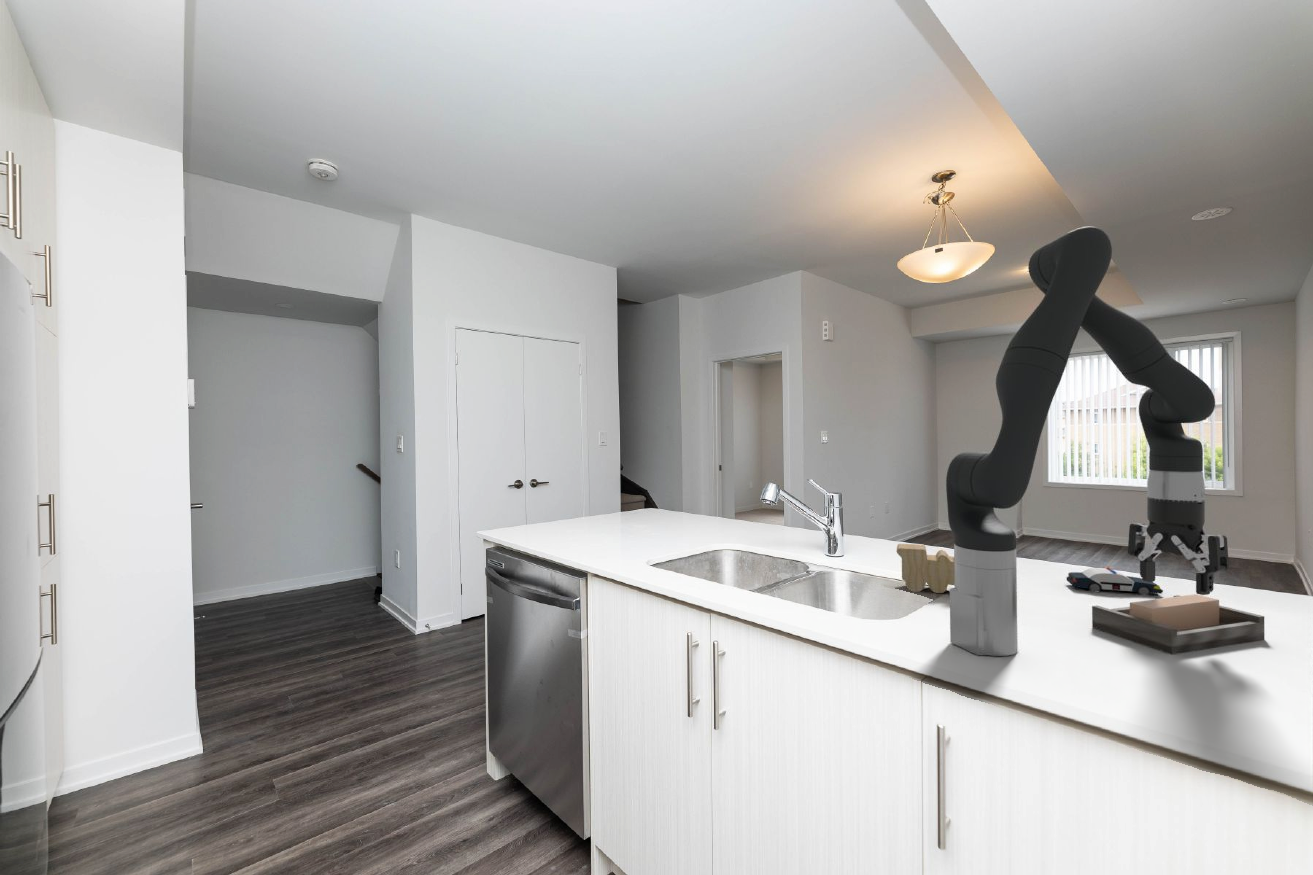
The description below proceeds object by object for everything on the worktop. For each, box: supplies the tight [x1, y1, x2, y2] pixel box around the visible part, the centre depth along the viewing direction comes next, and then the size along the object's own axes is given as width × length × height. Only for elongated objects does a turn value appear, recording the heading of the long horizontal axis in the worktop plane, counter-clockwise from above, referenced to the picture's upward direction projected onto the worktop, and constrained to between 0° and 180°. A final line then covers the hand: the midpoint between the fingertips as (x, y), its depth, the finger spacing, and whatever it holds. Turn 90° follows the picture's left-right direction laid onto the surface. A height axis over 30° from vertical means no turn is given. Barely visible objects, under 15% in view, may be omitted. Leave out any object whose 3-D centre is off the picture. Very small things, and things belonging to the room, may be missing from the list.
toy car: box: [1066, 567, 1164, 597], centre depth 127 cm, size 5×16×5 cm, turn 68°
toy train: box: [896, 543, 955, 594], centre depth 130 cm, size 6×17×10 cm, turn 66°
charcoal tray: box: [1091, 594, 1265, 655], centre depth 101 cm, size 21×13×4 cm, turn 104°
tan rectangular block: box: [1129, 593, 1220, 631], centre depth 101 cm, size 16×4×4 cm, turn 104°
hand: (1175, 587), depth 101 cm, fingers open, 8 cm apart
